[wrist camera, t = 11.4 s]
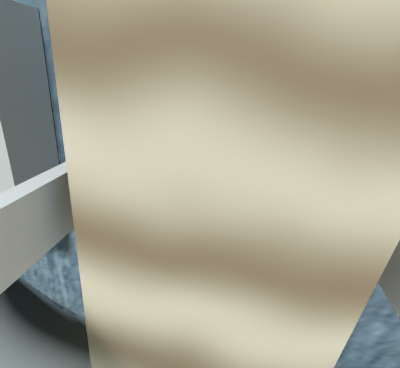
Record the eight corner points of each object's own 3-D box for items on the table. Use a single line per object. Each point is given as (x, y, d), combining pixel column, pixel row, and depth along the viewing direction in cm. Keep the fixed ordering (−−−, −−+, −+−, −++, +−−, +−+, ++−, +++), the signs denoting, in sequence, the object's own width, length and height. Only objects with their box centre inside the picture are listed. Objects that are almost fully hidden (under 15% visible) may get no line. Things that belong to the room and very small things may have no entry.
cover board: (89, -94, 8) (26, -161, 6) (483, -79, 7) (605, -158, 4) (114, 334, 16) (92, 377, 14) (292, 377, 15) (300, 432, 13)
